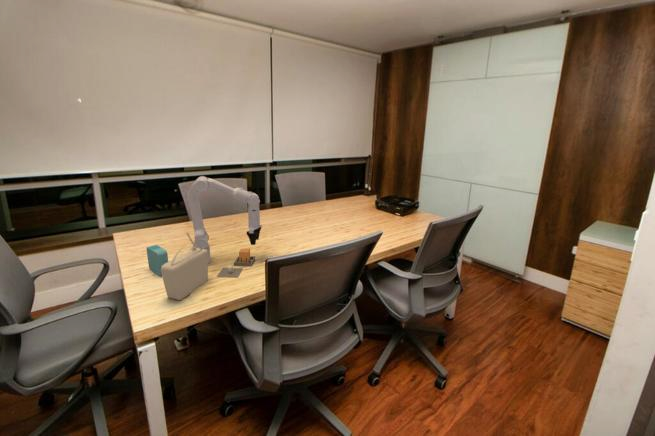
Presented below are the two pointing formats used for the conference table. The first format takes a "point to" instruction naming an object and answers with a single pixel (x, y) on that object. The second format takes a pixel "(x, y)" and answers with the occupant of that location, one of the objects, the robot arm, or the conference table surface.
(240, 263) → the tray
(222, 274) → the stud plate
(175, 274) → the radio
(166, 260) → the data package
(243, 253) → the orange brown block
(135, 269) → the conference table surface
